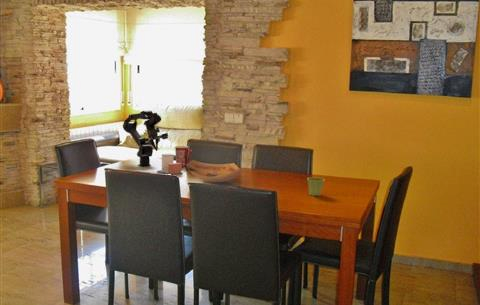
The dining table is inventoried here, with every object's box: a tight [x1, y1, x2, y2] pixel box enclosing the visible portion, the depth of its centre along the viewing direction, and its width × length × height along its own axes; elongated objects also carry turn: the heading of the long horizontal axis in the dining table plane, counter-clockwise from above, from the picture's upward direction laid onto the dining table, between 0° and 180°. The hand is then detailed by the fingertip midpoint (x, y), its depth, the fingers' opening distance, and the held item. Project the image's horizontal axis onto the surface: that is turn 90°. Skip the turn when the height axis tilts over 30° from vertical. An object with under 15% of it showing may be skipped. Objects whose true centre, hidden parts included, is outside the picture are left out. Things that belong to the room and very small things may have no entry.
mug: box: [174, 145, 194, 168], centre depth 330 cm, size 13×9×14 cm
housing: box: [156, 162, 184, 176], centre depth 307 cm, size 14×10×7 cm
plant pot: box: [306, 176, 326, 197], centre depth 263 cm, size 9×9×9 cm
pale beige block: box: [161, 153, 175, 168], centre depth 308 cm, size 4×6×10 cm
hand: (156, 150), depth 317 cm, fingers closed
